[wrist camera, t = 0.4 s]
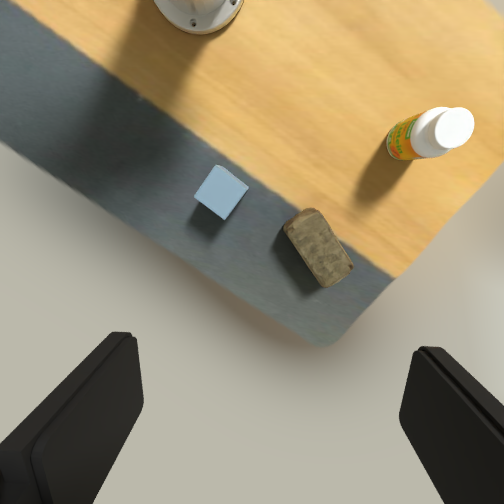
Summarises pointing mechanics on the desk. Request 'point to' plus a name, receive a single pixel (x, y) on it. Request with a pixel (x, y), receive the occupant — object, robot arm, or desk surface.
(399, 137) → the supplement bottle
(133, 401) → the robot arm
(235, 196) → the slate cube
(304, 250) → the stone block
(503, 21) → the desk surface
